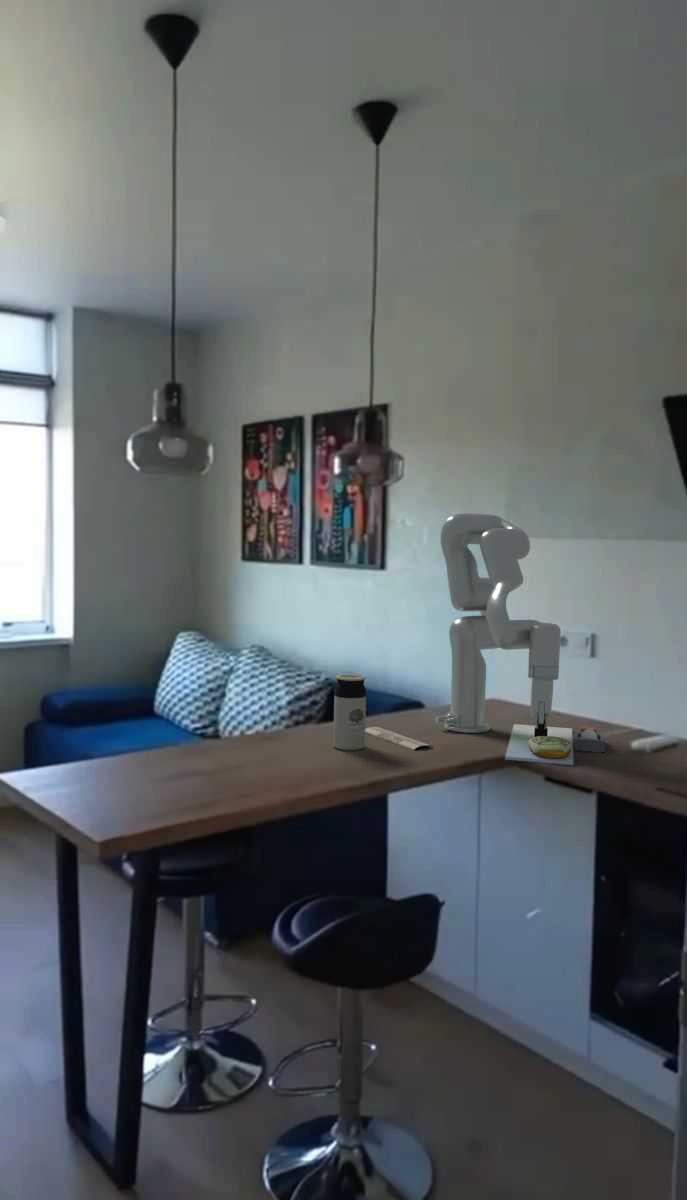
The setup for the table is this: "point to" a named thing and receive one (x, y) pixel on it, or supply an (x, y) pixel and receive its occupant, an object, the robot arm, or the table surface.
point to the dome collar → (589, 743)
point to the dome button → (589, 734)
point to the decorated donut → (550, 746)
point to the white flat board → (522, 752)
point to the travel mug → (349, 712)
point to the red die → (587, 728)
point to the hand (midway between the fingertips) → (540, 743)
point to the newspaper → (395, 738)
